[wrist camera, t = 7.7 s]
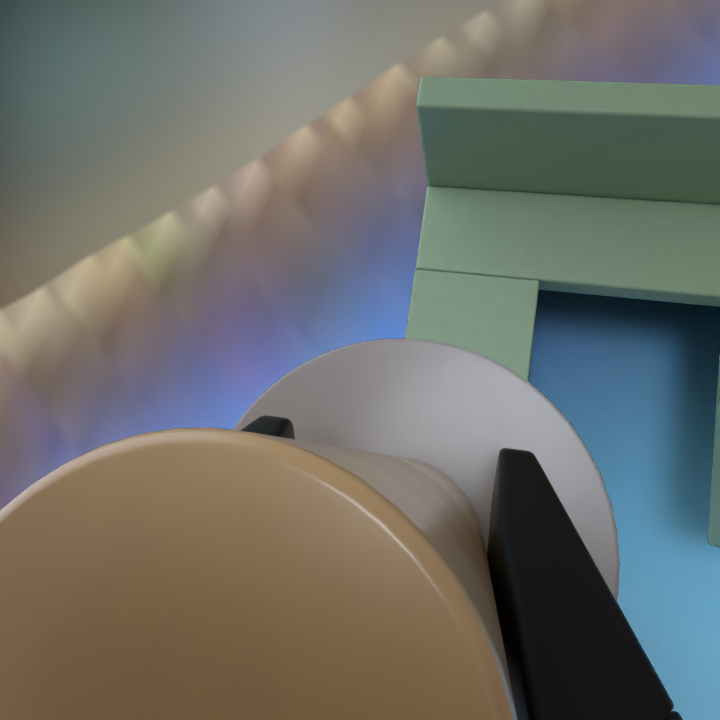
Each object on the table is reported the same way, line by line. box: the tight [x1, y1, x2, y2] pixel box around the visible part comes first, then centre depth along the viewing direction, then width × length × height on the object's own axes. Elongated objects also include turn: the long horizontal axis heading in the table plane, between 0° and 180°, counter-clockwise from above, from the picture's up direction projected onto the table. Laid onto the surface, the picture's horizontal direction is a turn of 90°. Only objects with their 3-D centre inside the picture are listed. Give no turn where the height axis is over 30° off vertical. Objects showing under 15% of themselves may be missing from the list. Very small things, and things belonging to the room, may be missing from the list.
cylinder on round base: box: [0, 338, 620, 720], centre depth 8 cm, size 7×7×12 cm
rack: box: [405, 77, 720, 548], centre depth 17 cm, size 10×12×9 cm
